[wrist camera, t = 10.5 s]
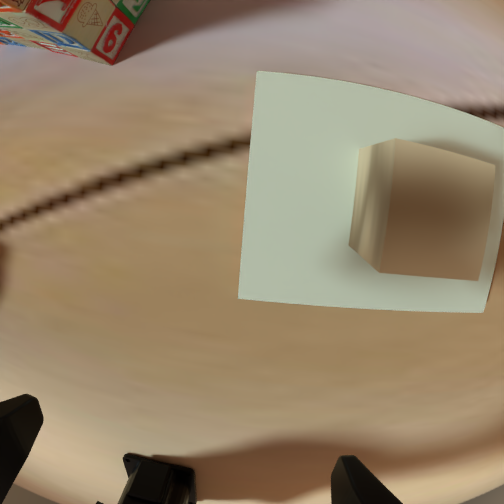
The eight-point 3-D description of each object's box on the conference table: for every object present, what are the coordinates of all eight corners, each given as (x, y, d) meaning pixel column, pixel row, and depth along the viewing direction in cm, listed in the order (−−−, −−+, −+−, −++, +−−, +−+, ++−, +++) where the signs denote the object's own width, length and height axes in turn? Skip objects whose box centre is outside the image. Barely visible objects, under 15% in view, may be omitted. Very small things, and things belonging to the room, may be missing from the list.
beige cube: (429, 254, 16) (478, 280, 11) (348, 245, 16) (379, 272, 11) (441, 165, 15) (495, 165, 10) (358, 148, 15) (395, 137, 10)
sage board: (474, 306, 18) (483, 312, 17) (239, 291, 18) (237, 298, 17) (498, 131, 15) (509, 130, 14) (257, 77, 16) (257, 70, 14)
